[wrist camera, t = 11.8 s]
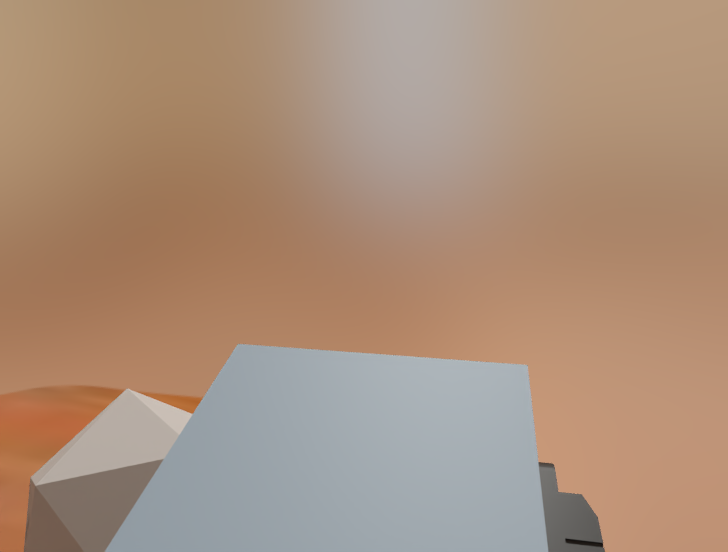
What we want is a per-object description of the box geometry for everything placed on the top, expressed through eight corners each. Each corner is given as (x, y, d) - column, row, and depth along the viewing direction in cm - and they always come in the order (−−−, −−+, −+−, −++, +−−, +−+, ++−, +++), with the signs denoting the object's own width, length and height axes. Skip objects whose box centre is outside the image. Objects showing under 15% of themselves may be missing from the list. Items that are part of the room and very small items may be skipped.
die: (140, 489, 30) (-44, 429, 23) (286, 413, 28) (137, 323, 21) (147, 680, 25) (-89, 680, 18) (325, 600, 23) (146, 565, 16)
